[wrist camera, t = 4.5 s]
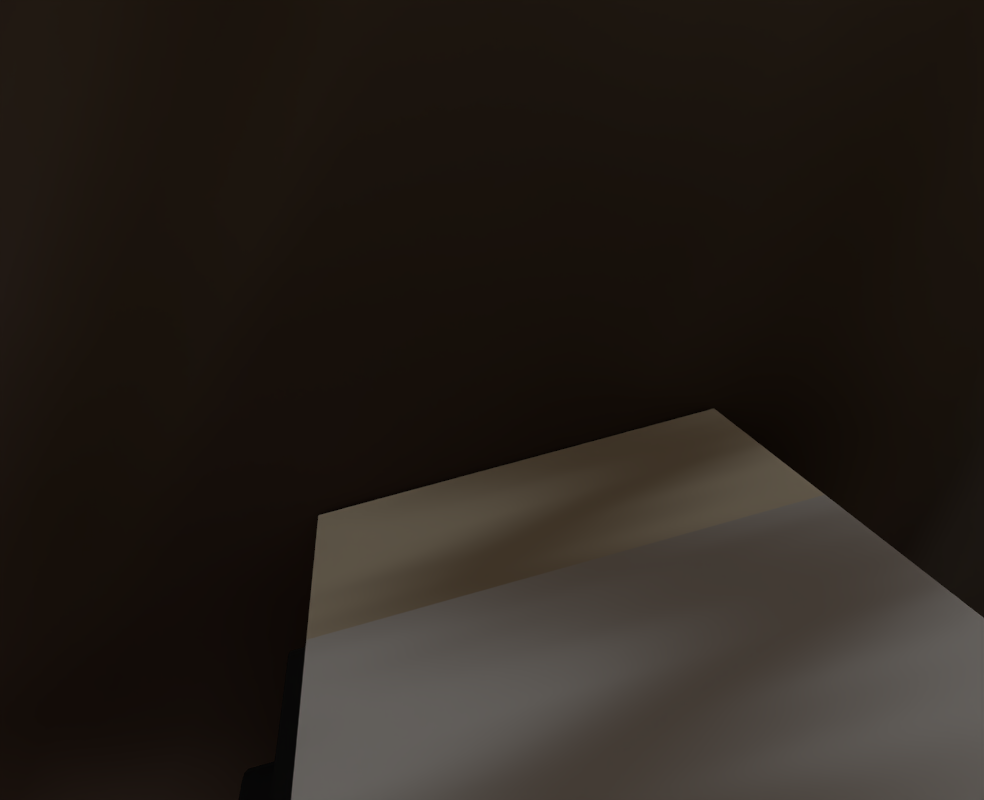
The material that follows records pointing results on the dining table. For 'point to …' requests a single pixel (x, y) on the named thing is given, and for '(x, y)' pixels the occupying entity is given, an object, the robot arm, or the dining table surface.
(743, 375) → the dining table surface
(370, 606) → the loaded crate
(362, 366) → the dining table surface
